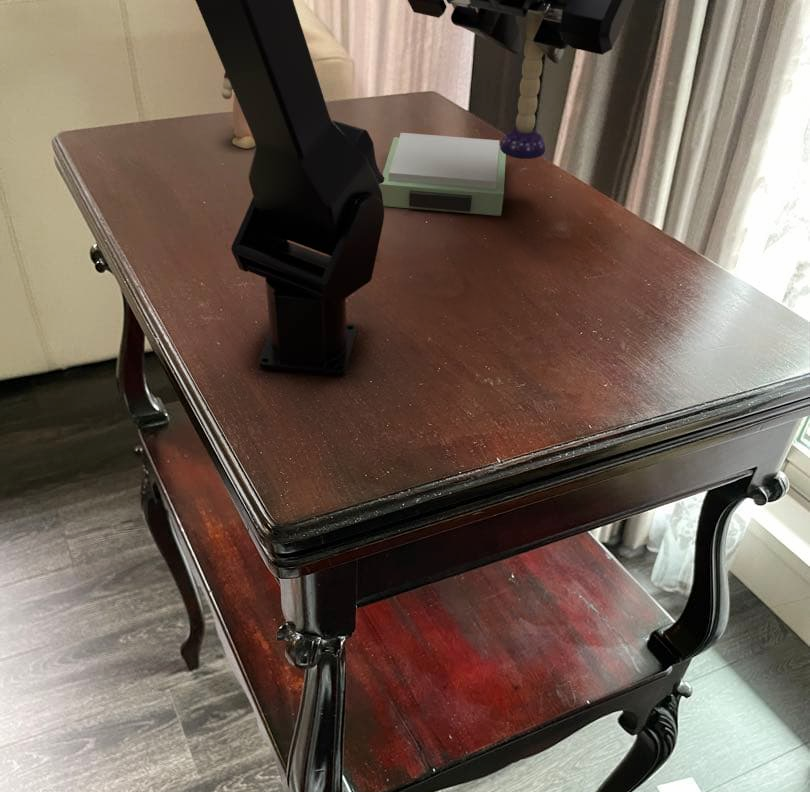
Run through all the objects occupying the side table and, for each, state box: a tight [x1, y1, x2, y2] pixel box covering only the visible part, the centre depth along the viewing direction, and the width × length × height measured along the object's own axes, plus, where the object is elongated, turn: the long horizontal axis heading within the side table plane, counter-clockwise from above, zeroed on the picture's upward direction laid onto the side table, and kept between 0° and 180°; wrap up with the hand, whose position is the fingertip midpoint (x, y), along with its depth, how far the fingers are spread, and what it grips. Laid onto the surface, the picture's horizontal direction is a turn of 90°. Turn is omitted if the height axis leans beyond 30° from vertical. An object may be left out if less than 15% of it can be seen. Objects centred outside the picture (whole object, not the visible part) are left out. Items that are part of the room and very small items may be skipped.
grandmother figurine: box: [221, 71, 256, 150], centre depth 88 cm, size 8×4×13 cm, turn 168°
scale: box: [379, 132, 507, 217], centre depth 85 cm, size 12×12×3 cm
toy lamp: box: [499, 12, 546, 160], centre depth 74 cm, size 5×5×17 cm
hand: (538, 53), depth 75 cm, fingers closed on toy lamp, 4 cm apart
